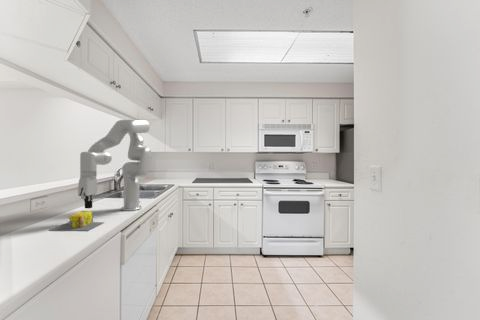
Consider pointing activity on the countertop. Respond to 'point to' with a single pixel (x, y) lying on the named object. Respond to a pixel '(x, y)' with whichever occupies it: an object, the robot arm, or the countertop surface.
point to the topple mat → (85, 228)
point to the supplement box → (81, 219)
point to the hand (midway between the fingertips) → (88, 207)
